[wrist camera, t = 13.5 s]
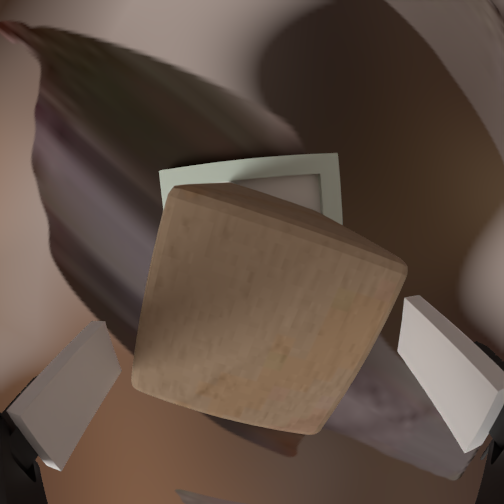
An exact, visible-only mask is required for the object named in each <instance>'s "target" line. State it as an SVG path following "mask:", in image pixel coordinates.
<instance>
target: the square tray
mask: <svg viewBox="0 0 504 504" xmlns="http://www.w3.org/2000/svg"><path fill="white" fill-rule="evenodd" d="M159 176H160V185H161V194H162V202H163V210H164V207H165V203H166V199H167V196H168V193H169V192H170V191H171V189H172V188H173V187H174V186H176V185H184V184H202V183H226V182H231V183H235V184H238V185H241V186H244V187H247V188H250V189H253V190H257V191H260V192H263V193H266V194H269V195H272V196H275V197H278V198H281V199H283V200H286V201H289V202H292V203H295V204H298V205H301V206H304V207H306V208H309V209H312V210H315V211H317V212H319V213H321V214H323V215H324V216H326V217H328V218H330V219H332V220H334V221H336V222H337V223H339V224H341V225H343V218H342V200H341V185H340V172H339V161H338V153H324V154H302V155H286V156H273V157H261V158H250V159H241V160H231V161H223V162H215V163H207V164H200V165H193V166H186V167H179V168H173V169H167V170H161V171H159Z"/></svg>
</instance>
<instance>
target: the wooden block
mask: <svg viewBox="0 0 504 504" xmlns="http://www.w3.org/2000/svg"><path fill="white" fill-rule="evenodd" d="M407 269H408V267H407V265H406V264H405V263H404V262H403V261H402V259H400V258H398V257H397V256H395V255H394V254H392V253H390V252H389V251H387V250H385V249H383V248H382V247H380V246H378V245H377V244H375V243H373V242H371V241H369V240H368V239H366V238H364V237H363V236H361V235H359V234H357V233H356V232H354V231H352V230H350V229H348V228H347V227H345V226H343V225H341V224H339V223H337V222H336V221H334V220H332V219H330V218H328V217H326V216H324V215H323V214H321V213H319V212H317V211H315V210H312V209H309V208H306V207H304V206H301V205H298V204H295V203H292V202H289V201H286V200H283V199H281V198H278V197H275V196H272V195H269V194H266V193H263V192H260V191H257V190H253V189H250V188H247V187H244V186H241V185H238V184H235V183H231V182H226V183H202V184H184V185H176V186H174V187H173V188H172V189H171V191H170V192H169V193H168V196H167V199H166V203H165V207H164V210H163V214H162V218H161V222H160V226H159V230H158V234H157V238H156V242H155V247H154V251H153V255H152V260H151V264H150V269H149V274H148V278H147V283H146V288H145V293H144V299H143V304H142V310H141V315H140V321H139V327H138V333H137V340H136V347H135V354H134V362H133V369H132V378H131V379H132V385H133V387H134V388H135V389H137V390H138V391H141V392H143V393H146V394H149V395H151V396H154V397H157V398H160V399H162V400H165V401H168V402H171V403H174V404H177V405H180V406H183V407H186V408H190V409H193V410H196V411H199V412H203V413H206V414H210V415H214V416H217V417H221V418H225V419H229V420H233V421H237V422H242V423H246V424H251V425H255V426H260V427H265V428H270V429H276V430H281V431H287V432H294V433H300V434H308V435H312V434H316V433H318V432H319V431H320V430H321V428H322V427H323V426H324V424H325V423H326V421H327V420H328V418H329V417H330V416H331V414H332V413H333V411H334V410H335V408H336V407H337V405H338V404H339V402H340V401H341V399H342V397H343V396H344V394H345V393H346V391H347V390H348V388H349V386H350V385H351V383H352V381H353V380H354V378H355V376H356V375H357V373H358V371H359V370H360V368H361V366H362V365H363V363H364V361H365V359H366V358H367V356H368V354H369V352H370V350H371V348H372V347H373V345H374V343H375V341H376V339H377V337H378V335H379V333H380V332H381V330H382V328H383V326H384V324H385V322H386V320H387V318H388V316H389V313H390V311H391V309H392V307H393V305H394V303H395V300H396V299H397V297H398V294H399V292H400V290H401V287H402V285H403V283H404V281H405V278H406V276H407Z"/></svg>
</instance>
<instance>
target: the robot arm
mask: <svg viewBox="0 0 504 504" xmlns="http://www.w3.org/2000/svg"><path fill="white" fill-rule="evenodd" d="M398 353H399V354H400V356H401V357H402V358H403V360H404V361H405V363H406V364H407V365H408V367H409V368H410V370H411V371H412V373H413V374H414V375H415V377H416V378H417V380H418V381H419V383H420V384H421V386H422V387H423V389H424V390H425V392H426V393H427V395H428V396H429V398H430V399H431V401H432V402H433V404H434V405H435V407H436V408H437V410H438V411H439V413H440V414H441V416H442V417H443V419H444V421H445V422H446V424H447V425H448V427H449V429H450V430H451V432H452V433H453V435H454V437H455V438H456V440H457V441H458V443H459V445H460V446H461V448H462V450H463V451H464V453H467V452H469V451H471V450H473V449H474V448H476V447H478V446H480V445H482V443H483V442H484V440H485V438H486V437H487V435H488V434H489V433H490V435H491V436H492V438H493V439H492V441H491V443H490V444H489V446H488V447H487V448H486V450H485V451H484V453H483V454H482V457H481V460H483V459H484V457H485V456H486V454H487V453H488V455H487V460H486V465H485V469H484V474H483V478H482V482H481V485H480V489H479V492H478V496H477V499H476V502H475V504H504V362H503V361H502V360H501V359H500V358H499V357H498V356H497V355H495V353H494V352H493V351H492V350H490V348H488V347H487V346H485V345H483V344H481V343H479V342H477V341H476V342H472V341H471V340H470V339H469V338H468V337H467V336H466V335H464V333H462V332H461V331H460V330H459V329H458V328H457V327H456V326H455V325H453V324H452V323H451V322H450V321H449V320H448V319H447V318H445V317H444V316H443V315H442V314H441V313H440V312H439V311H437V310H436V309H435V308H434V307H433V306H431V305H430V304H429V303H428V302H427V301H426V300H424V299H423V298H422V297H421V296H420V295H418V296H411V297H406V298H404V308H403V316H402V324H401V331H400V338H399V345H398ZM121 371H122V370H121V367H120V365H119V362H118V359H117V357H116V354H115V351H114V348H113V345H112V342H111V339H110V336H109V333H108V330H107V327H106V324H105V321H92V322H90V323H89V325H87V326H86V327H85V328H84V329H83V330H82V331H81V332H80V333H79V334H78V335H77V336H76V337H75V338H74V339H73V340H72V341H71V342H70V343H69V344H68V345H67V346H66V347H65V348H64V349H63V350H62V351H61V352H60V353H59V354H58V355H57V356H56V357H55V358H54V360H53V361H52V362H51V363H50V364H49V365H48V366H47V367H46V368H45V369H44V370H43V371H42V372H41V373H40V374H39V375H38V376H36V377H35V378H33V379H32V380H31V381H30V383H28V385H27V387H25V388H24V389H23V390H22V391H21V393H19V394H18V395H17V397H16V398H15V399H14V400H13V401H12V402H11V403H10V405H9V406H8V407H7V408H6V409H5V410H4V411H3V412H2V413H0V504H48V502H47V499H46V495H45V491H44V487H43V482H42V478H41V473H40V467H39V465H38V463H37V462H36V461H35V459H36V458H37V456H39V457H40V458H41V459H42V461H43V462H44V463H45V464H46V465H47V466H49V467H52V468H54V469H57V470H59V471H62V469H63V467H64V466H65V464H66V462H67V460H68V459H69V457H70V455H71V453H72V452H73V450H74V448H75V446H76V445H77V443H78V441H79V440H80V438H81V436H82V434H83V433H84V431H85V429H86V428H87V426H88V424H89V423H90V421H91V419H92V418H93V416H94V414H95V413H96V411H97V409H98V408H99V406H100V405H101V403H102V401H103V400H104V398H105V397H106V395H107V393H108V392H109V390H110V389H111V387H112V385H113V384H114V382H115V381H116V379H117V377H118V376H119V374H120V373H121Z"/></svg>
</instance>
